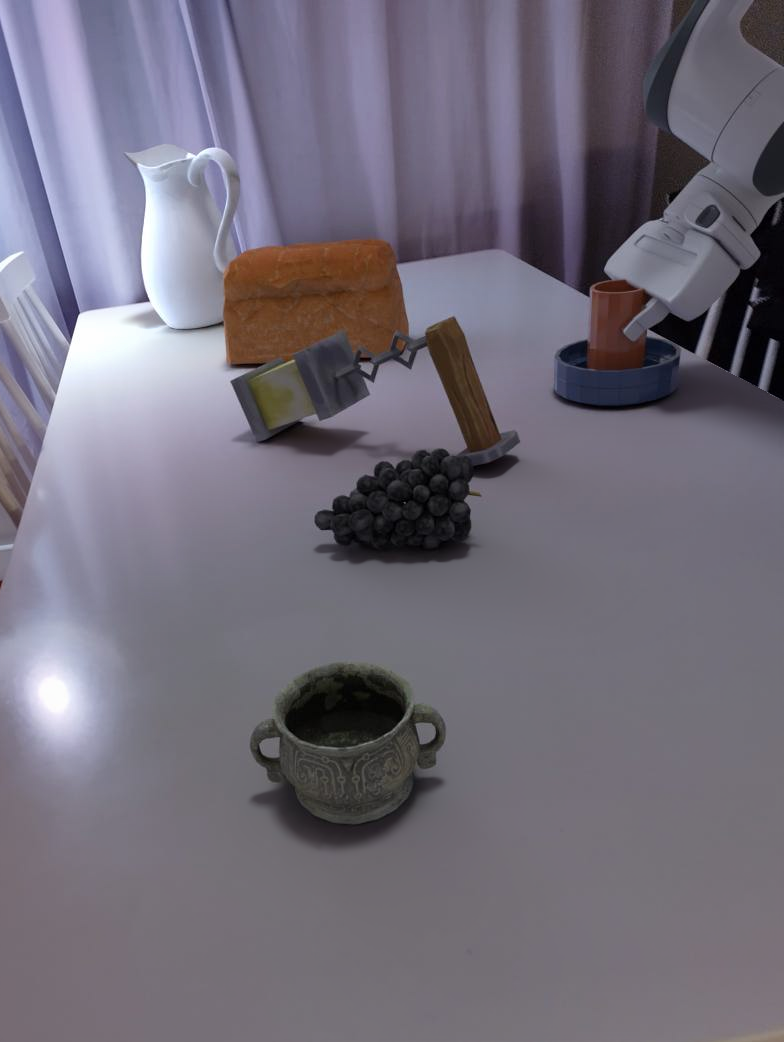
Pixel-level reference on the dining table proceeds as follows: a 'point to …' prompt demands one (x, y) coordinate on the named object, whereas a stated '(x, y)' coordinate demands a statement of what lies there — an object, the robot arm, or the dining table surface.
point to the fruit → (424, 518)
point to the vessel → (348, 740)
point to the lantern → (337, 383)
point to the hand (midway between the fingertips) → (612, 328)
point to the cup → (614, 326)
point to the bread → (312, 299)
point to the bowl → (617, 376)
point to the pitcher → (185, 234)
